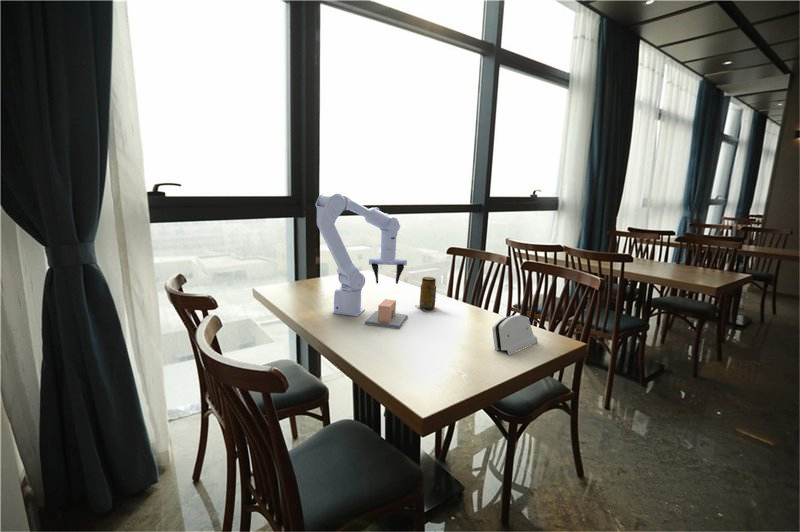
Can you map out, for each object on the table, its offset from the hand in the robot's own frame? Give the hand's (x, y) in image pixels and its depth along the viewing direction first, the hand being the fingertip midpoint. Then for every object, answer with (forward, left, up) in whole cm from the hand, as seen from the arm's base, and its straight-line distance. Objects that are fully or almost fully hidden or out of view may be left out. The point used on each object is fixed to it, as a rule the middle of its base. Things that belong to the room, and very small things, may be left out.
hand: (386, 283), depth 148 cm
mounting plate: (+5, -16, -9) cm, 19 cm away
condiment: (+16, +4, -10) cm, 19 cm away
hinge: (+47, -22, -10) cm, 53 cm away
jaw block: (+5, -16, -8) cm, 19 cm away
